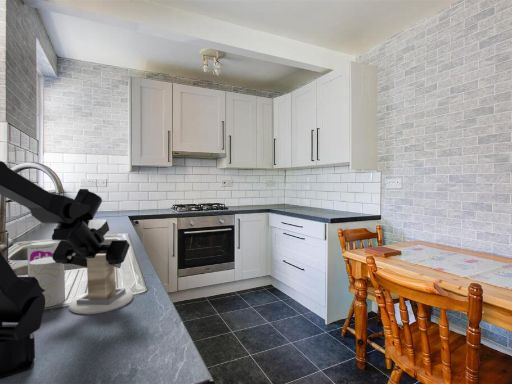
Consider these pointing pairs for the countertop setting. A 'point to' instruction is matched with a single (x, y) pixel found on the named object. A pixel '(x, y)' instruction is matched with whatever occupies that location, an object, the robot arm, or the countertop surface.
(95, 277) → the birch block
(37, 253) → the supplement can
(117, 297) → the locating plate
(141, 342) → the countertop surface
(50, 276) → the cup
